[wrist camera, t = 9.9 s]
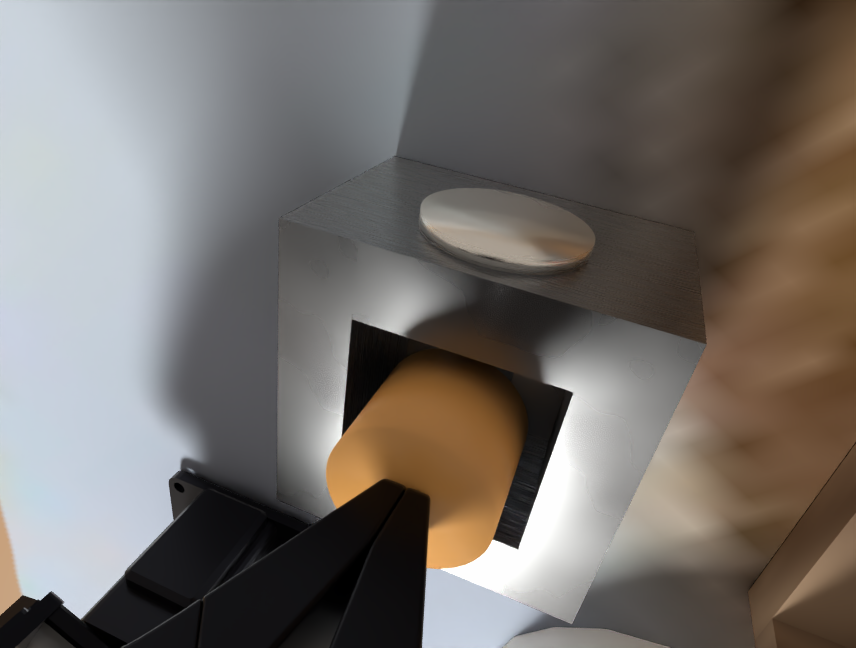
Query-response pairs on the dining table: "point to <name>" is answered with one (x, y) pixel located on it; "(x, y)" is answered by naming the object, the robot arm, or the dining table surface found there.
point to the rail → (813, 574)
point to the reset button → (439, 447)
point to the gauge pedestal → (492, 347)
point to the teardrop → (578, 639)
